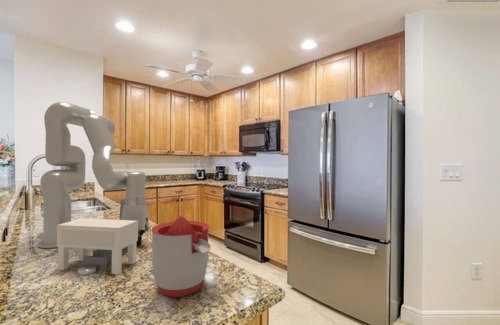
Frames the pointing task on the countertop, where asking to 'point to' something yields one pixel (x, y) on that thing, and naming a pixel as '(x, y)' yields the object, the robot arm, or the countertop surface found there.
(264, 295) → the countertop surface
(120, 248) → the white footstool
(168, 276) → the citrus juicer
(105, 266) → the dark grey bar
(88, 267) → the disc
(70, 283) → the countertop surface
